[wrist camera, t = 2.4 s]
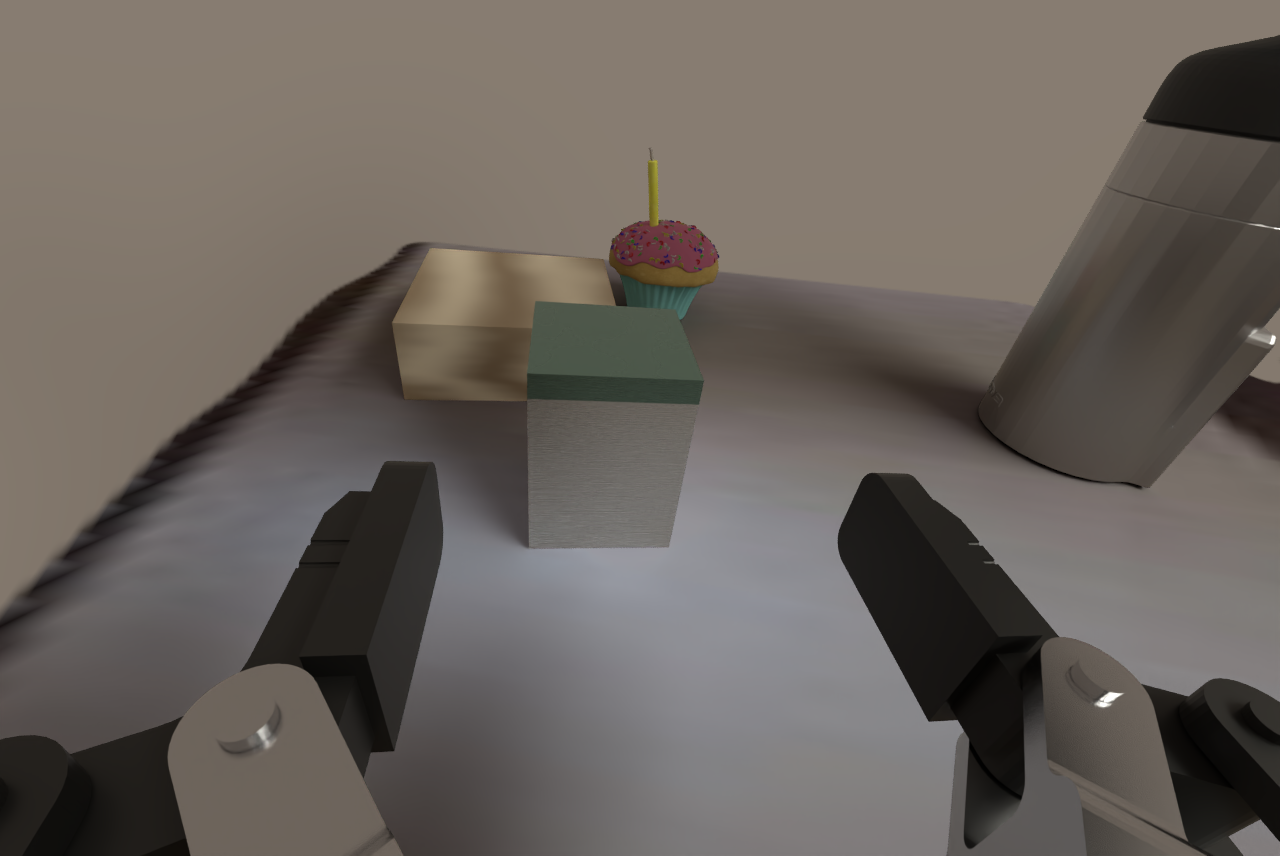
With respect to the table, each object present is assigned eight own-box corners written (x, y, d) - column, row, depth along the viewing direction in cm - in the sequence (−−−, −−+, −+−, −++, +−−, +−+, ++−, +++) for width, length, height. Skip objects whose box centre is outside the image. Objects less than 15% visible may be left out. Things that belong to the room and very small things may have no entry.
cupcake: (621, 336, 40) (639, 158, 33) (593, 291, 46) (603, 134, 39) (725, 331, 43) (761, 166, 36) (685, 290, 49) (709, 143, 42)
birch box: (598, 322, 42) (603, 259, 39) (615, 407, 33) (623, 331, 30) (437, 315, 40) (430, 248, 37) (405, 404, 30) (391, 322, 28)
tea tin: (651, 460, 28) (675, 309, 23) (668, 547, 24) (703, 380, 19) (535, 458, 27) (535, 301, 22) (528, 549, 23) (526, 373, 18)
